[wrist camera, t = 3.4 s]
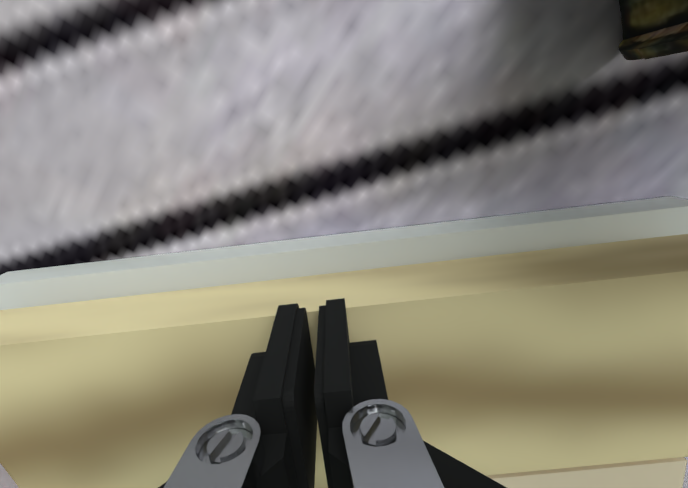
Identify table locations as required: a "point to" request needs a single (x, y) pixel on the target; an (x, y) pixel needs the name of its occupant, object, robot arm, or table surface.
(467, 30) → the table surface
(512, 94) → the table surface
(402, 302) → the honey plank
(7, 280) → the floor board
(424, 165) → the table surface
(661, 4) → the book
